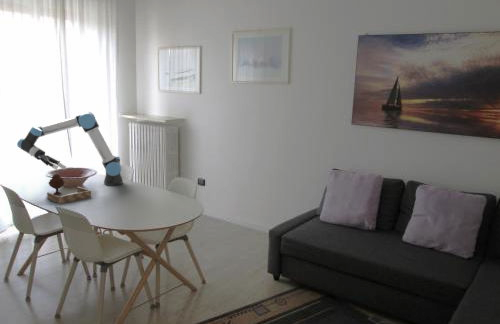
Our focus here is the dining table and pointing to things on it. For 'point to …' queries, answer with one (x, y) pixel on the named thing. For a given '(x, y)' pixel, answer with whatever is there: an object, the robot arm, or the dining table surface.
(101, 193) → the dining table surface
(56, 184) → the ice cream bowl
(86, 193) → the bay
